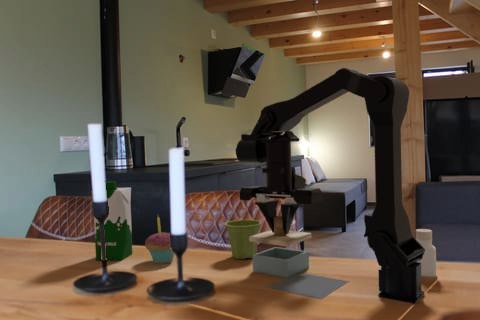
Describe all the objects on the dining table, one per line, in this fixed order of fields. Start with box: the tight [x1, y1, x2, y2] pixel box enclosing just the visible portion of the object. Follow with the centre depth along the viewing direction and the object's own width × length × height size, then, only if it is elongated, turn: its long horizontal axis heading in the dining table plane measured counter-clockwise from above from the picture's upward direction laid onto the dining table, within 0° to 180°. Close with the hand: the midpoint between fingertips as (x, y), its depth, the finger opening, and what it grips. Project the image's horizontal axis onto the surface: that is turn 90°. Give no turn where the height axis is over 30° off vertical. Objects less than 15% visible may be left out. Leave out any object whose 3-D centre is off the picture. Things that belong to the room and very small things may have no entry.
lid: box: [249, 215, 313, 247], centre depth 97 cm, size 10×10×5 cm
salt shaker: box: [415, 228, 437, 278], centre depth 91 cm, size 4×4×10 cm
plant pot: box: [224, 219, 262, 260], centre depth 111 cm, size 9×9×9 cm
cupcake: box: [144, 215, 175, 264], centre depth 110 cm, size 9×8×12 cm
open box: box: [252, 246, 310, 278], centre depth 98 cm, size 9×9×4 cm
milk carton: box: [91, 180, 133, 261], centre depth 115 cm, size 9×9×20 cm
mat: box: [265, 272, 350, 300], centre depth 87 cm, size 12×12×1 cm
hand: (280, 233), depth 97 cm, fingers closed on lid, 3 cm apart
